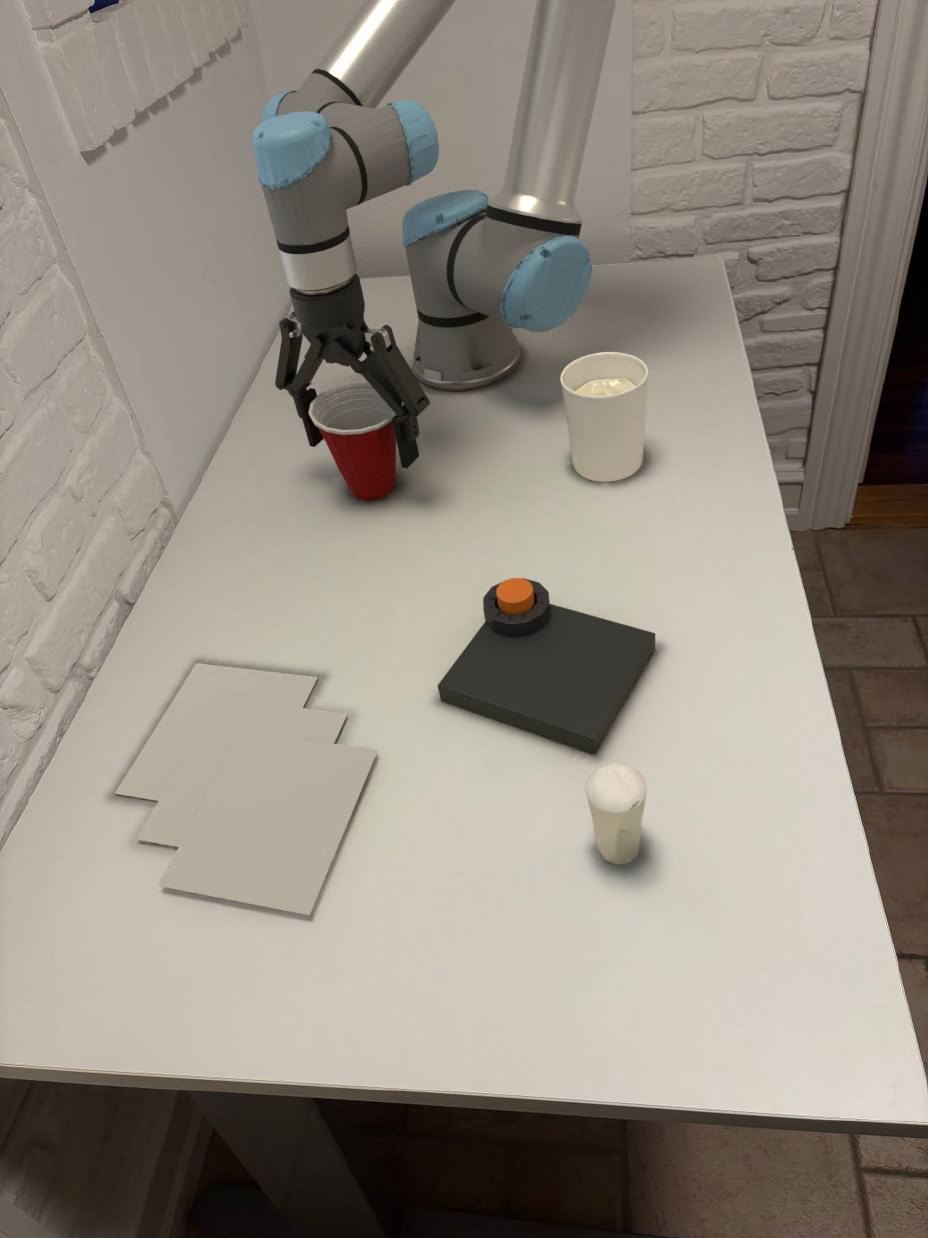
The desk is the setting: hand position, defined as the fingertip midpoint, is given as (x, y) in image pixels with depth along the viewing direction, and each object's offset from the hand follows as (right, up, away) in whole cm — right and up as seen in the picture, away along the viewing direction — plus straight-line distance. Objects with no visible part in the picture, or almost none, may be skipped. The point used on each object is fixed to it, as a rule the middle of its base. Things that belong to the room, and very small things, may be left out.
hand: (363, 451), depth 114 cm
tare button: (+17, -19, -20) cm, 32 cm away
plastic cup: (+1, -4, +4) cm, 6 cm away
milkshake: (+25, -39, -38) cm, 60 cm away
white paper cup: (+29, -1, +1) cm, 29 cm away
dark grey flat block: (+20, -25, -23) cm, 40 cm away
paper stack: (-8, -34, -27) cm, 44 cm away
